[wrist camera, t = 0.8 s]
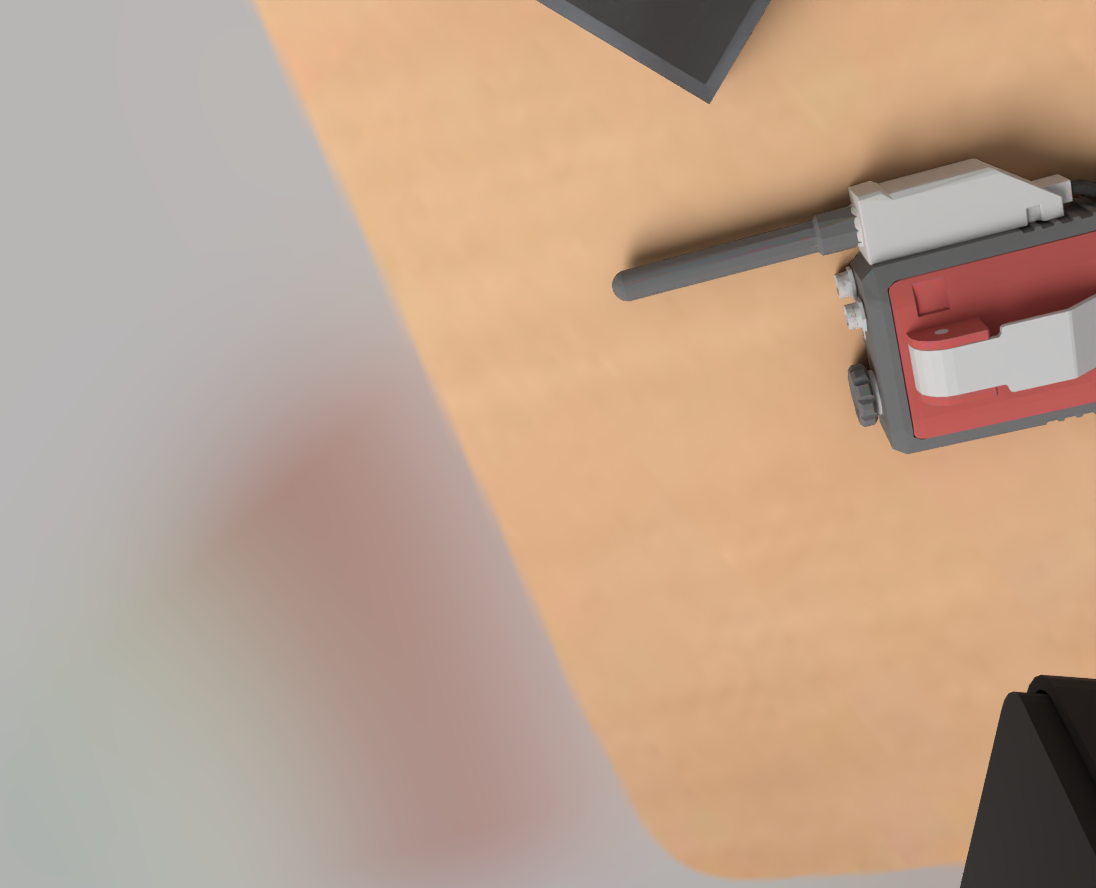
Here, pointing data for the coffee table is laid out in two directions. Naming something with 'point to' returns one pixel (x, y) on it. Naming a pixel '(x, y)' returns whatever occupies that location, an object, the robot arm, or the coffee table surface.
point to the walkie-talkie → (945, 297)
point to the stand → (672, 34)
